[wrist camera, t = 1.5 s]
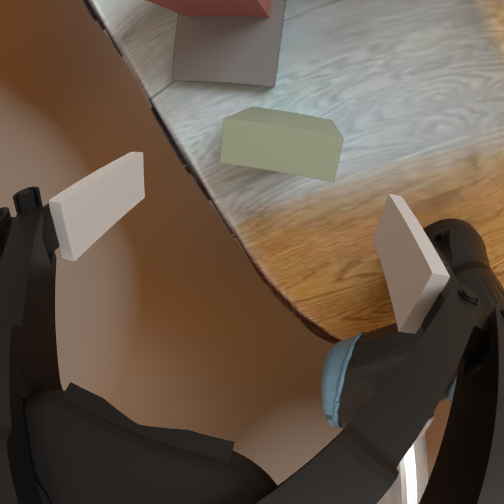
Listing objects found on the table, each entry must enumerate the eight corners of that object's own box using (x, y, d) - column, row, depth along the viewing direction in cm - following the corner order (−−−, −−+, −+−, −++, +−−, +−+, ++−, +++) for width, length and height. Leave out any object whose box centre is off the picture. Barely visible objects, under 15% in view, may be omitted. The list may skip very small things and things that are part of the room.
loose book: (326, 149, 34) (334, 182, 24) (248, 136, 35) (219, 162, 24) (331, 120, 32) (343, 138, 21) (252, 106, 33) (223, 118, 22)
